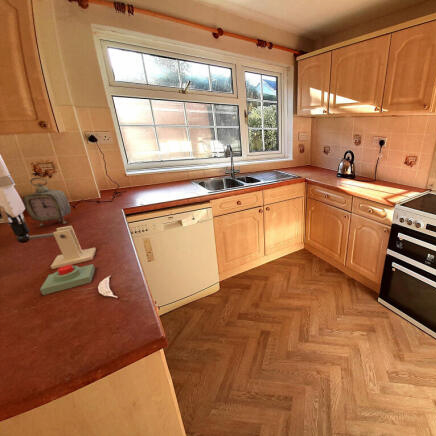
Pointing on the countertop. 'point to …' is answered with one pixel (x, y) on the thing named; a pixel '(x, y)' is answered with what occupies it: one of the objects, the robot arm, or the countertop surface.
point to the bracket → (70, 248)
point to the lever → (33, 237)
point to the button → (65, 269)
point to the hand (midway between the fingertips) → (22, 233)
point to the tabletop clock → (46, 204)
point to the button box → (68, 279)
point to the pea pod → (105, 288)
